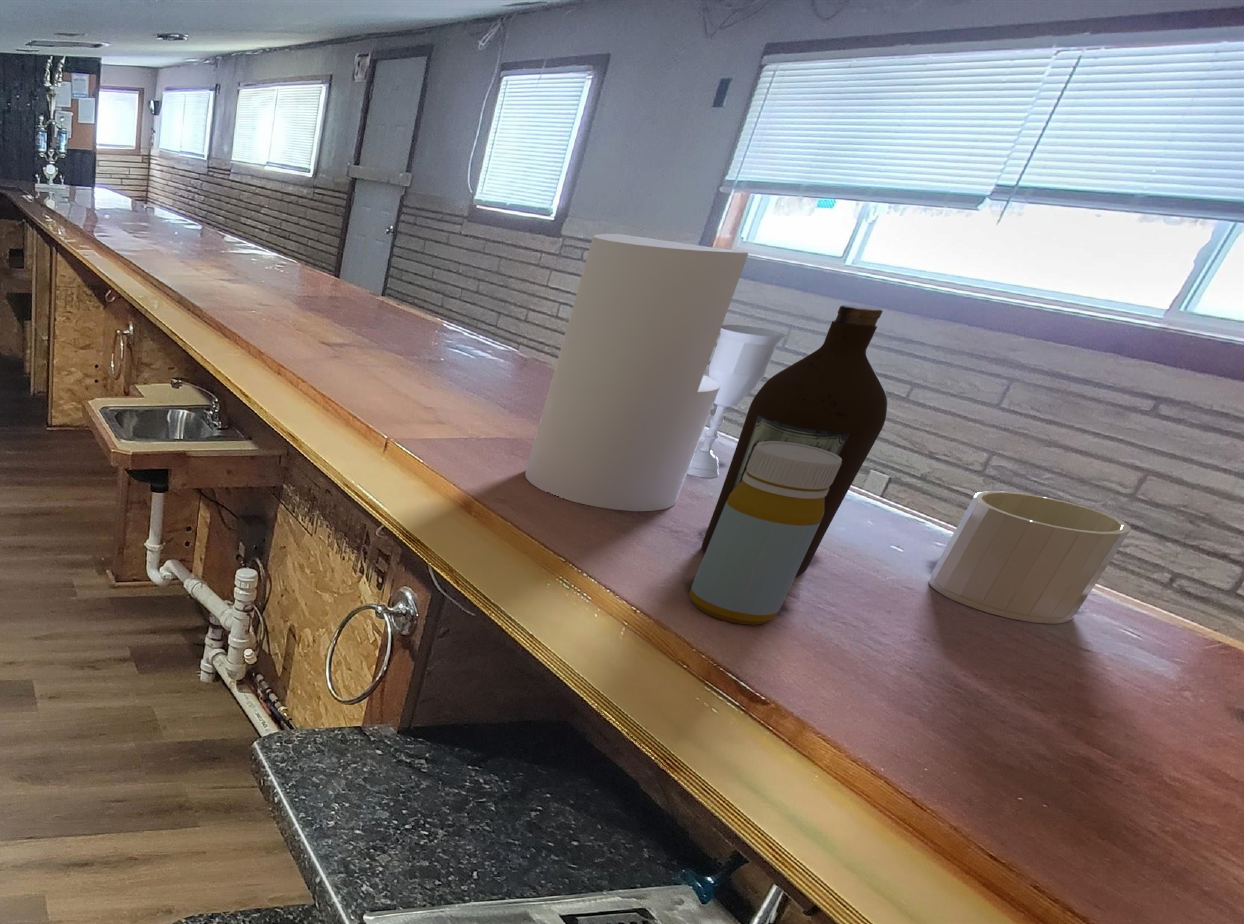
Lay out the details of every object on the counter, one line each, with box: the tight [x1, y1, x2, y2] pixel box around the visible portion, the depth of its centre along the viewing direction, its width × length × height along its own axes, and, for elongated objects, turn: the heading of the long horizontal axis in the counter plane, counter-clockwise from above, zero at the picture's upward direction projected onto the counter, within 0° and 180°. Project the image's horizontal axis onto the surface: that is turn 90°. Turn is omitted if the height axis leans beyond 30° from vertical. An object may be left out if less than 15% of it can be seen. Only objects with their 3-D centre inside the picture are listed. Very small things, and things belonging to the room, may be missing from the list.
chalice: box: [687, 324, 786, 479], centre depth 116 cm, size 7×7×18 cm
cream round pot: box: [928, 490, 1132, 625], centre depth 86 cm, size 11×11×9 cm
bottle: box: [688, 441, 842, 626], centre depth 80 cm, size 7×7×15 cm
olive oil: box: [701, 304, 888, 577], centre depth 88 cm, size 11×11×25 cm
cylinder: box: [524, 233, 749, 512], centre depth 106 cm, size 17×17×28 cm
